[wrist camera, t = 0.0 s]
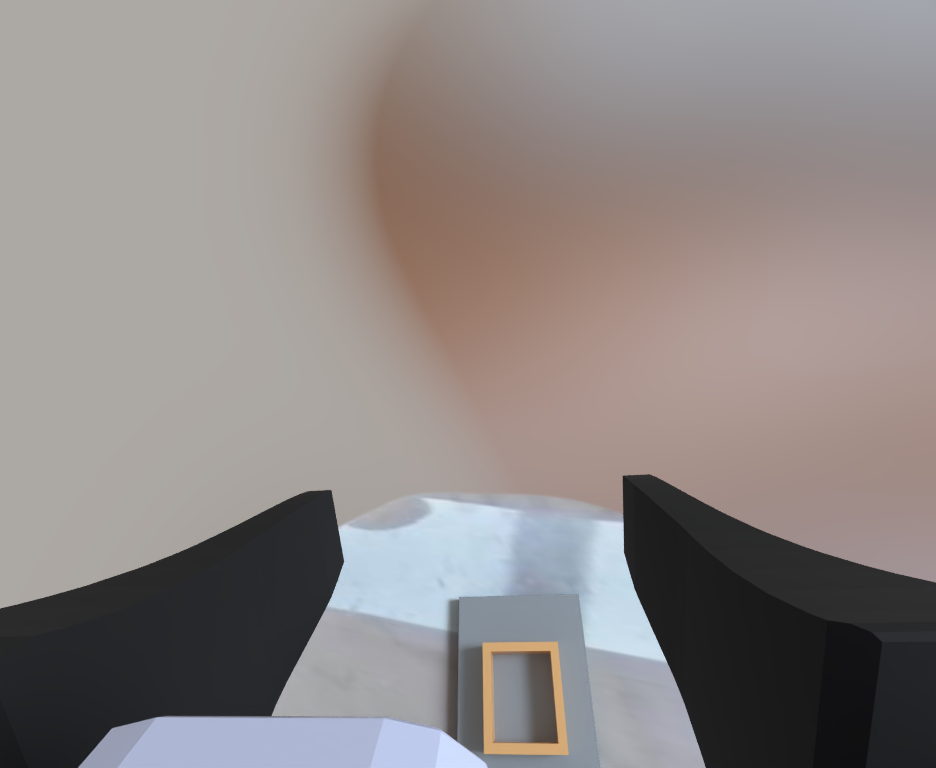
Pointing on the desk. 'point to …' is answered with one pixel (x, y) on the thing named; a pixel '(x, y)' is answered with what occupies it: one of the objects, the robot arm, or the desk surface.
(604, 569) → the desk surface
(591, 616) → the desk surface
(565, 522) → the desk surface
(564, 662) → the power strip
